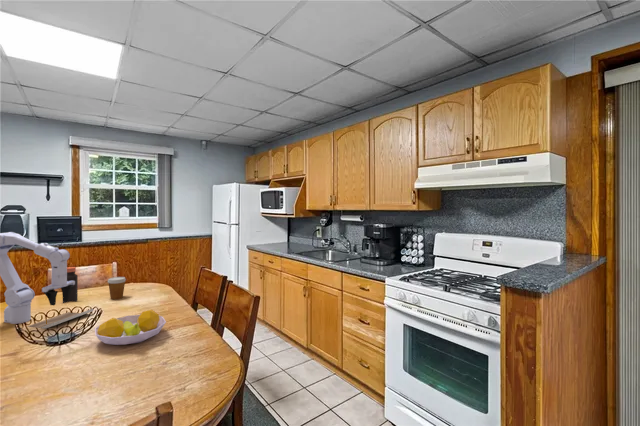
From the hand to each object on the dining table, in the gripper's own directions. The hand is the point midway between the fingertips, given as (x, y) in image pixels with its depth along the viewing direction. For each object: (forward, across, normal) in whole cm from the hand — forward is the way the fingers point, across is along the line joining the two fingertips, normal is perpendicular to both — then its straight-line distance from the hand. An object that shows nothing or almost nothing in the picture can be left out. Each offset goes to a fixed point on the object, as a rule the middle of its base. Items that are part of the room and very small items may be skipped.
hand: (59, 303), depth 152 cm
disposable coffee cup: (+10, +40, +5) cm, 41 cm away
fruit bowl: (+10, -9, -47) cm, 49 cm away
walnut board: (+9, 0, +2) cm, 10 cm away
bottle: (+10, +27, +24) cm, 37 cm away
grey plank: (+8, 0, -6) cm, 10 cm away
